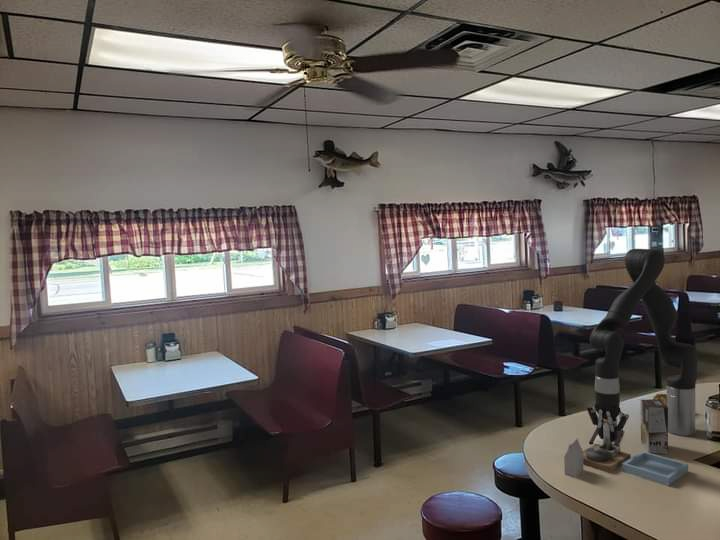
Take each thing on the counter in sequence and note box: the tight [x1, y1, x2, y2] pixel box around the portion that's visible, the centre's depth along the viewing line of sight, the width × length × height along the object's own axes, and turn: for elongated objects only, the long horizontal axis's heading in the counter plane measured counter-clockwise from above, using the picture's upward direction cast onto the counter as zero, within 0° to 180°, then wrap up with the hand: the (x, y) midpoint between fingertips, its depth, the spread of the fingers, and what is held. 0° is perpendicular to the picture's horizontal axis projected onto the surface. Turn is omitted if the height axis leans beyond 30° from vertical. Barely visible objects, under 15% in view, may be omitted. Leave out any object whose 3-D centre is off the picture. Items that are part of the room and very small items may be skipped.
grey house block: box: [563, 438, 584, 478], centre depth 176 cm, size 4×7×10 cm, turn 141°
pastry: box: [652, 393, 667, 406], centre depth 225 cm, size 14×12×8 cm
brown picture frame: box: [588, 426, 624, 447], centre depth 202 cm, size 9×1×18 cm
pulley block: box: [583, 444, 632, 474], centre depth 183 cm, size 14×12×5 cm
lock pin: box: [602, 418, 613, 451], centre depth 185 cm, size 3×3×11 cm
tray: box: [621, 450, 689, 487], centre depth 174 cm, size 14×14×2 cm
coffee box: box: [640, 398, 669, 455], centre depth 191 cm, size 9×6×16 cm
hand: (607, 439), depth 185 cm, fingers closed on lock pin, 3 cm apart
